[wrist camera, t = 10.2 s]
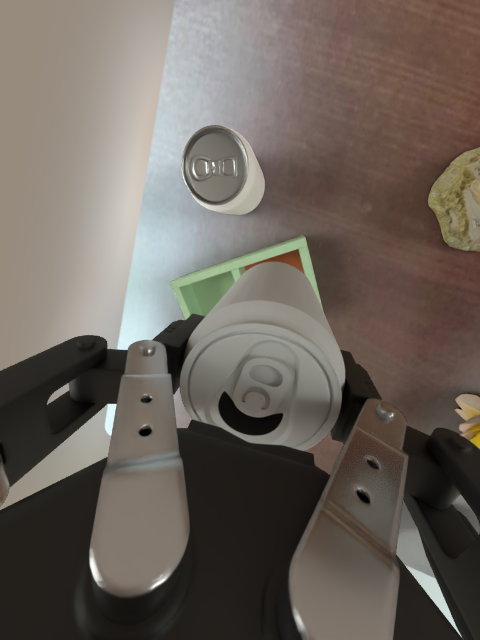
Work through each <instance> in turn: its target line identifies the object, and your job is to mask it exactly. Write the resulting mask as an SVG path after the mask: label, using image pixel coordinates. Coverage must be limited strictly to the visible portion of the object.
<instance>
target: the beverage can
mask: <svg viewBox="0 0 480 640" xmlns="http://www.w3.org/2000/svg"><path fill="white" fill-rule="evenodd" d="M344 385H345V366H344V361H343V357H342V354H341V352H340V349H339V347H338V344H337V342H336V340H335V338H334V335H333V333H332V331H331V328H330V326H329V324H328V321H327V319H326V317H325V315H324V312H323V310H322V308H321V305H320V303H319V301H318V298H317V296H316V294H315V291H314V289H313V287H312V285H311V283H310V281H309V280H308V278H307V277H306V276H305V275H304V274H303V273H302V272H301V271H300V270H298V269H297V268H295V267H293V266H291V265H289V264H286V263H281V262H265V263H261V264H258V265H256V266H253V267H252V268H250V269H248V270H247V271H246V272H245V273H244V274H242V276H241V277H240V278H239V279H238V280H237V281H236V282H235V284H234V285H233V286H232V287H231V288H230V289H229V290H228V292H227V293H226V294H225V295H224V296H223V297H222V298H221V300H220V301H219V302H218V303H217V304H216V305H215V306H214V308H213V309H212V310H211V311H210V312H209V313H208V314H207V316H206V317H205V318H204V319H203V320H202V321H201V322H200V324H199V325H198V326H197V327H196V328H195V330H194V331H193V333H192V334H191V336H190V338H189V340H188V342H187V345H186V348H185V352H184V359H183V367H182V370H181V375H180V393H181V398H182V401H183V404H184V407H185V409H186V411H187V413H188V415H189V416H190V418H191V419H193V420H197V421H200V422H204V423H207V424H211V425H214V426H218V427H221V428H223V429H225V430H226V431H228V432H230V433H232V434H234V435H236V436H238V437H240V438H241V439H243V440H245V441H247V442H249V443H256V444H272V445H284V446H287V447H291V448H294V449H298V450H301V451H306V450H308V449H310V448H311V447H313V446H315V445H316V444H318V443H319V442H320V441H321V440H323V439H324V438H325V437H326V436H327V435H328V433H329V432H330V431H331V430H332V428H333V427H334V425H335V423H336V421H337V419H338V416H339V413H340V409H341V401H342V393H343V390H344Z"/></svg>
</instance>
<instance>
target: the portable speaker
mask: <svg viewBox="0 0 480 640" xmlns="http://www.w3.org/2000/svg"><path fill="white" fill-rule="evenodd" d="M456 511H457V510H456ZM457 512H458V514H459V515H460V517H461V518H462V520H463V521H464V523H465V524H466V526H467V527H468V529H469V530H470V532H471V533H472V535H473V536H474V538H475V539H476V538H477V537H478V536H479V535H478V533H477V532H476V530H475V529H474V528H473V526H472V525H471V523H470V522H469V521H468V519H467V518H466V517H465V516H464V515H463V514H462V513H461V512H459V511H457ZM419 534H420V532H419ZM420 537H421V540H422V543H423V547H424V550H425V553H426V556H427V559H428V561H429V563H430V566H431V568H432V570H433V573H434V575H435V577H436V580H437V582H438V584H439V587H440V589H441V591H442V594H443V596H444V598H445V601H446V603H447V605H448V608H449V610H450V612H451V615H452V617H453V619H454V622H455V624H456V626H457V628H458V630H459V632H460V634H461V636H462V638H463V640H474V638H473V636H472V634H471V632H470V630H469V628H468V626H467V624H466V622H465V620H464V618H463V617H462V615H461V613H460V611H459V609H458V607H457V605H456V603H455V601H454V599H453V597H452V595H451V593H450V591H449V589H448V587H447V585H446V583H445V581H444V579H443V577H442V575H441V573H440V571H439V569H438V567H437V565H436V563H435V561H434V559H433V557H432V555H431V553H430V551H429V550H428V548H427V546H426V544H425V542H424V540H423V538H422V536H421V534H420Z"/></svg>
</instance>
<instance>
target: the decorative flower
mask: <svg viewBox="0 0 480 640" xmlns="http://www.w3.org/2000/svg"><path fill="white" fill-rule="evenodd" d="M455 401H456V402H457V404H458V405H459V406H460V407H461V409H462V410H460V409H454V410H455V411H456V412H457V413H458V414H459V415H460V416H461V417H462V418H463V419H464V420H466V421H465V422H464V423H462V424H460V425H459V430H460V431H463V432H462V433H461V434H460V435H462V436H463V437H465V438H466V439H468V440H469V441H471V442H472V443H473V444H474V445H476V446H477V447H478V448H479V449H480V397H478V396H476V395H471V394H462V395H460V396H459V397H457V398H456V400H455Z"/></svg>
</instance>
